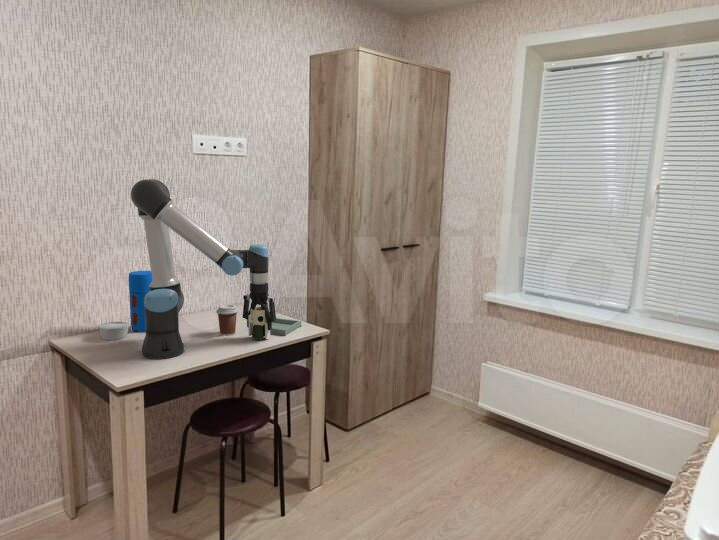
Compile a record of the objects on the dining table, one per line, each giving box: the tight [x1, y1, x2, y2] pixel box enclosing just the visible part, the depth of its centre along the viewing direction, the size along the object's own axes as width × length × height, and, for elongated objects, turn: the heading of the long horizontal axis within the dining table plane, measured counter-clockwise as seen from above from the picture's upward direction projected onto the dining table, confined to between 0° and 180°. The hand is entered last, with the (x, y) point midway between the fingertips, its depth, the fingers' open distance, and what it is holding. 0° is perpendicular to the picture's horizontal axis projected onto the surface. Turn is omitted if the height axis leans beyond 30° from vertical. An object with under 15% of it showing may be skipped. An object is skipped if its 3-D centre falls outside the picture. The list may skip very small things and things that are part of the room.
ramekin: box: [98, 321, 130, 341], centre depth 212 cm, size 11×11×5 cm
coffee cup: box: [215, 304, 239, 337], centre depth 220 cm, size 9×9×12 cm
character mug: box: [248, 306, 267, 340], centre depth 214 cm, size 11×7×13 cm, turn 140°
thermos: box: [128, 270, 153, 333], centre depth 222 cm, size 11×11×25 cm
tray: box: [270, 317, 302, 337], centre depth 230 cm, size 16×16×2 cm
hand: (259, 336), depth 215 cm, fingers closed on character mug, 7 cm apart
